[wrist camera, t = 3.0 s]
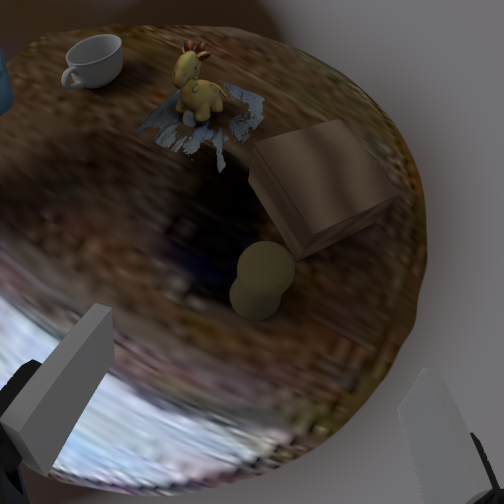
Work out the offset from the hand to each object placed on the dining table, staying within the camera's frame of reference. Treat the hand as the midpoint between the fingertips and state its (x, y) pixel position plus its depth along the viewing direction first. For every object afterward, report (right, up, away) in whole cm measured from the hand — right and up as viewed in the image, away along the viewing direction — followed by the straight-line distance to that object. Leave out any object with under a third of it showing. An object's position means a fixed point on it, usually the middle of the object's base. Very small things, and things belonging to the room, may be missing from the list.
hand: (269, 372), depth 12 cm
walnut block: (+8, +11, +31) cm, 34 cm away
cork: (0, -1, +26) cm, 26 cm away
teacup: (-31, +37, +38) cm, 61 cm away
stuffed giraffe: (-8, +26, +36) cm, 46 cm away
